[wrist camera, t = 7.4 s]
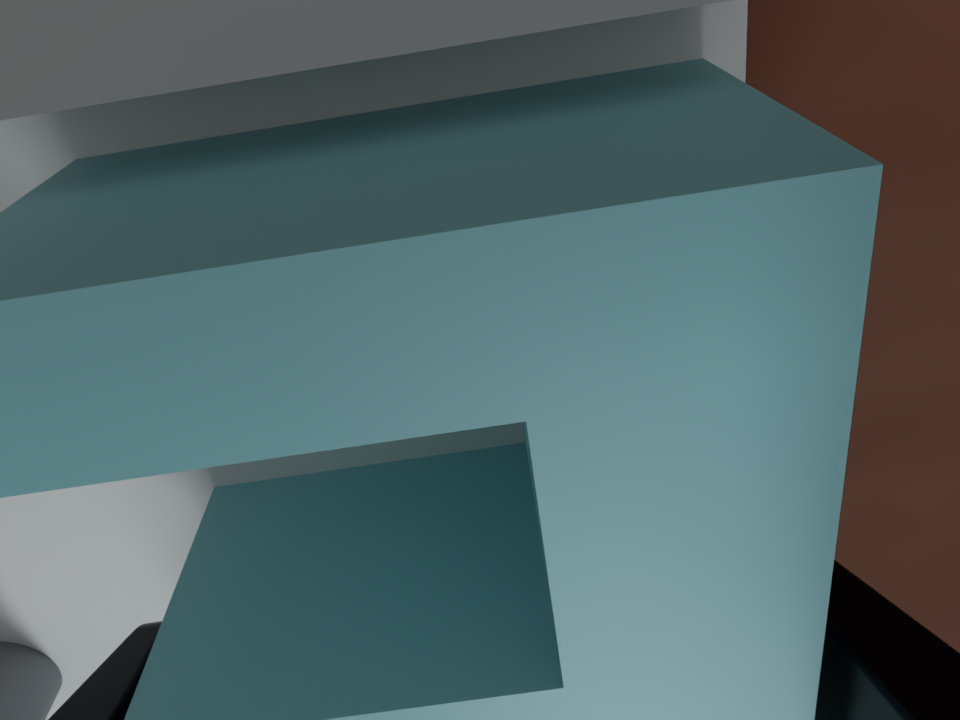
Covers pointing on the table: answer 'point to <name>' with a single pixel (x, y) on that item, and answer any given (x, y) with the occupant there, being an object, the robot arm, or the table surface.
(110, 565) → the board
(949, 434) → the table surface
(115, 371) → the teal notched block
